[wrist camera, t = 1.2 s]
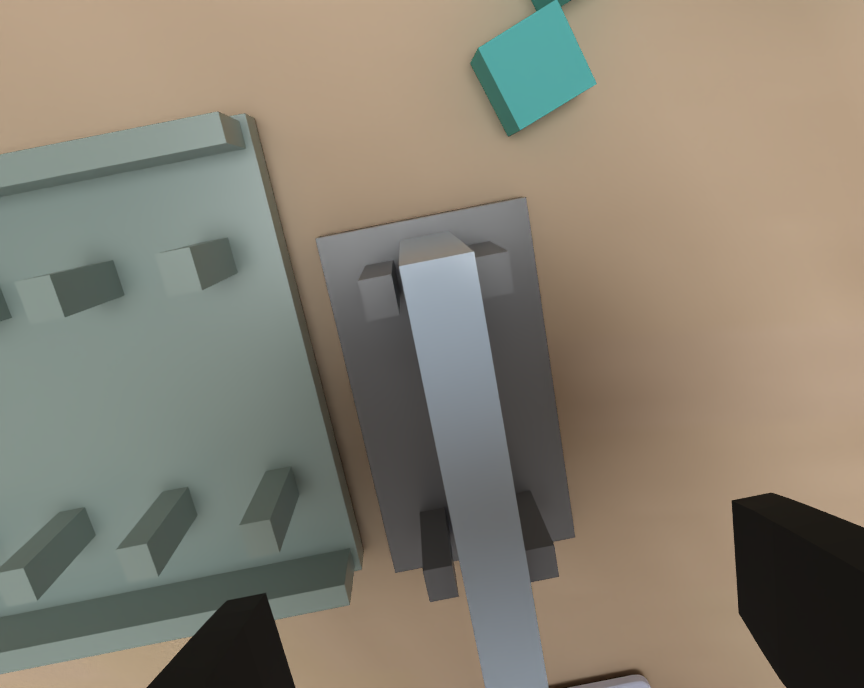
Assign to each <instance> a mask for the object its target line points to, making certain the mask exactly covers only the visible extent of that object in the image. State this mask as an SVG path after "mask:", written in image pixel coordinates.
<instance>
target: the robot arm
mask: <svg viewBox="0 0 864 688" xmlns="http://www.w3.org/2000/svg"><path fill="white" fill-rule="evenodd" d="M732 513H733V529H734V545H735V561H736V577H737V593H738V608H739V614H740V616H741V618H742V619H743V621H744V623H745V624H746V626H747V627H748V629H749V631H750V632H751V634H752V636H753V637H754V639H755V641H756V642H757V644H758V646H759V647H760V649H761V651H762V652H763V654H764V655H765V657H766V658H767V660H768V661H769V663H770V665H771V666H772V668H773V669H774V671H775V672H776V674H777V676H778V677H779V679H780V680H781V681H782V683H783V684H784V685H785V686H786V688H864V528H863V527H861V526H858V525H856V524H853V523H851V522H848V521H846V520H843V519H841V518H838V517H836V516H833V515H831V514H828V513H826V512H823V511H821V510H818V509H816V508H813V507H811V506H808V505H805V504H803V503H800V502H797V501H795V500H792V499H789V498H786V497H783V496H780V495H777V494H774V493H767V494H762V495H757V496H752V497H747V498H742V499H737V500H732ZM147 688H295V685H294V682H293V679H292V675H291V672H290V669H289V666H288V662H287V659H286V656H285V653H284V650H283V646H282V643H281V640H280V637H279V633H278V630H277V627H276V624H275V621H274V617H273V614H272V611H271V608H270V604H269V601H268V598H267V595H266V593H262V594H257V595H252V596H247V597H242V598H236V599H231V600H227V601H226V602H225V603H224V604H223V605H222V606H221V607H220V608H219V609H218V610H217V611H216V612H215V613H214V614H213V615H212V616H211V617H210V618H209V619H208V620H207V621H206V622H205V623H204V625H203V626H202V627H201V628H200V629H199V630H198V631H197V632H196V633H195V634H194V636H193V637H192V638H191V639H190V640H189V641H188V642H187V643H186V645H185V646H184V647H183V648H182V649H181V650H180V651H179V652H178V653H177V655H176V656H175V657H174V658H173V659H172V660H171V661H170V662H169V664H168V665H167V666H166V667H165V668H164V669H163V670H162V671H161V672H160V673H159V675H158V676H157V677H156V678H155V679H154V680H153V681H152V682H151V683H150V684H149V686H148V687H147ZM569 688H651V687H650V685H649V683H648V681H647V679H646V678H645V677H644V676H641V675H629V676H624V677H619V678H614V679H609V680H604V681H599V682H594V683H589V684H584V685H579V686H574V687H569Z"/></svg>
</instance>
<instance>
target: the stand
mask: <svg viewBox="0 0 864 688" xmlns="http://www.w3.org/2000/svg"><path fill="white" fill-rule="evenodd" d="M446 231H449V232H450V233H452V234H453V235H454V236H455V237H457V238H458V239H459V240H460V241H462V242H463V243H464V244H465V245H467V246H468V247H469V248H470V249H472V250H473V251H474V254H475V260H476V266H477V271H478V277H479V283H480V289H481V295H482V301H483V307H484V312H485V318H486V324H487V330H488V336H489V342H490V348H491V353H492V359H493V365H494V371H495V377H496V383H497V389H498V394H499V400H500V406H501V412H502V418H503V424H504V430H505V435H506V441H507V447H508V453H509V459H510V465H511V471H512V476H513V482H514V488H515V494H516V500H517V506H518V512H519V517H520V523H521V529H522V535H523V541H524V547H525V553H526V558H527V564H528V570H529V576H530V582H534V581H539V580H545V579H550V578H555V577H559V573H558V567H557V560H556V554H555V547H554V544H553V542H554V541H559V540H564V539H569V538H574V537H575V533H574V526H573V519H572V512H571V505H570V498H569V491H568V484H567V477H566V470H565V464H564V457H563V450H562V443H561V436H560V429H559V422H558V415H557V408H556V401H555V394H554V387H553V380H552V374H551V367H550V360H549V353H548V346H547V339H546V332H545V325H544V318H543V311H542V304H541V297H540V290H539V284H538V277H537V270H536V263H535V256H534V249H533V242H532V235H531V228H530V221H529V214H528V207H527V200H526V197H518V198H513V199H508V200H503V201H498V202H493V203H488V204H483V205H477V206H472V207H467V208H462V209H457V210H452V211H447V212H442V213H437V214H432V215H427V216H422V217H417V218H412V219H407V220H401V221H396V222H391V223H386V224H381V225H376V226H371V227H366V228H361V229H356V230H351V231H346V232H341V233H336V234H331V235H325V236H320V237H318V238H316V243H317V247H318V251H319V255H320V260H321V264H322V268H323V272H324V276H325V280H326V285H327V289H328V293H329V297H330V301H331V306H332V310H333V314H334V318H335V322H336V326H337V331H338V335H339V339H340V343H341V347H342V352H343V356H344V360H345V364H346V368H347V372H348V377H349V381H350V385H351V389H352V393H353V398H354V402H355V406H356V410H357V414H358V418H359V423H360V427H361V431H362V435H363V439H364V444H365V448H366V452H367V456H368V460H369V464H370V469H371V473H372V477H373V481H374V485H375V490H376V494H377V498H378V502H379V506H380V510H381V515H382V519H383V523H384V527H385V531H386V536H387V540H388V544H389V548H390V552H391V556H392V561H393V565H394V569H395V573H397V572H402V571H407V570H413V569H418V568H423V574H424V578H425V582H426V587H427V591H428V596H429V600H430V602H433V601H438V600H444V599H449V598H454V597H459V596H458V589H457V581H456V574H455V567H454V561H458V560H459V557H458V552H457V547H456V542H455V537H454V533H453V528H452V523H451V518H450V513H449V508H448V503H447V499H446V494H445V489H444V484H443V479H442V474H441V469H440V464H439V460H438V455H437V450H436V445H435V440H434V435H433V430H432V425H431V421H430V416H429V411H428V406H427V401H426V396H425V391H424V386H423V382H422V377H421V372H420V367H419V362H418V357H417V352H416V347H415V343H414V338H413V333H412V328H411V323H410V318H409V313H408V308H407V304H406V299H405V294H404V289H403V284H402V279H401V274H400V269H399V250H400V240H405V239H410V238H416V237H421V236H426V235H431V234H436V233H441V232H446Z"/></svg>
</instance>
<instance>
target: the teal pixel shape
mask: <svg viewBox="0 0 864 688" xmlns="http://www.w3.org/2000/svg"><path fill="white" fill-rule="evenodd" d="M531 1H532V3H533V5H534V7H535V9H536V11H537V12H535V13H534V14H532V15H530V16H529V17H527V18H526V19H524V20H522V21H521V22H519V23H518V24H516V25H514V26H513V27H511V28H510V29H508V30H506V31H505V32H503V33H502V34H500V35H498V36H497V37H495V38H494V39H492V40H490V41H489V42H487V43H486V44H484V45H482V46H481V47H479V48H478V49H477V51H476V53H475V55H474V57H473V59H472V61H471V63H470V64H471V66H472V68H473V70H474V72H475V74H476V76H477V78H478V79H479V81H480V83H481V85H482V87H483V89H484V91H485V93H486V95H487V97H488V99H489V101H490V103H491V105H492V106H493V108H494V110H495V112H496V114H497V116H498V118H499V120H500V122H501V124H502V126H503V128H504V130H505V132H506V133H507V135H508V136H510V135H512V134H514V133H516V132H518V131H520V130H521V129H523V128H525V127H526V126H528V125H530V124H531V123H533V122H535V121H536V120H538V119H540V118H541V117H543V116H544V115H546V114H548V113H549V112H551V111H553V110H554V109H556V108H558V107H559V106H561V105H563V104H564V103H566V102H568V101H569V100H571V99H572V98H574V97H576V96H577V95H579V94H581V93H582V92H584V91H586V90H587V89H589V88H591V87H592V86H594V85H595V84H597V83H596V81H595V79H594V77H593V75H592V73H591V71H590V68H589V66H588V64H587V62H586V60H585V58H584V56H583V53H582V51H581V49H580V47H579V45H578V43H577V41H576V38H575V36H574V34H573V32H572V30H571V28H570V26H569V23H568V21H567V19H566V17H565V15H564V13H563V11H562V8H561V6H563V5H564V4H566V3H568V2H569V1H571V0H531Z"/></svg>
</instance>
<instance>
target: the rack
mask: <svg viewBox="0 0 864 688" xmlns="http://www.w3.org/2000/svg"><path fill="white" fill-rule="evenodd" d="M363 553H364V551H363V547H362V543H361V539H360V535H359V531H358V527H357V523H356V519H355V515H354V511H353V507H352V503H351V499H350V495H349V491H348V487H347V483H346V479H345V475H344V471H343V467H342V463H341V459H340V456H339V452H338V448H337V444H336V440H335V436H334V432H333V428H332V424H331V420H330V416H329V412H328V408H327V404H326V400H325V396H324V392H323V388H322V384H321V380H320V376H319V372H318V368H317V364H316V360H315V357H314V353H313V349H312V345H311V341H310V337H309V333H308V329H307V325H306V321H305V317H304V313H303V309H302V305H301V301H300V297H299V293H298V289H297V285H296V281H295V277H294V273H293V269H292V265H291V262H290V258H289V254H288V250H287V246H286V242H285V238H284V234H283V230H282V226H281V222H280V218H279V214H278V210H277V206H276V202H275V198H274V194H273V190H272V186H271V182H270V178H269V174H268V170H267V167H266V163H265V159H264V155H263V151H262V147H261V143H260V139H259V135H258V131H257V127H256V123H255V119H254V118H253V117H251V116H249V115H247V114H245V113H244V114H239V115H234V116H227V115H225V114H222V113H220V112H214V113H209V114H203V115H198V116H193V117H188V118H183V119H178V120H173V121H168V122H163V123H158V124H153V125H148V126H143V127H137V128H132V129H127V130H122V131H117V132H112V133H107V134H102V135H97V136H92V137H87V138H82V139H77V140H72V141H66V142H61V143H56V144H51V145H46V146H41V147H36V148H31V149H26V150H21V151H16V152H11V153H6V154H0V674H4V673H9V672H14V671H19V670H24V669H29V668H34V667H39V666H44V665H49V664H54V663H59V662H65V661H70V660H75V659H80V658H85V657H90V656H95V655H100V654H105V653H110V652H115V651H120V650H125V649H130V648H135V647H140V646H145V645H150V644H155V643H161V642H166V641H171V640H176V639H181V638H186V637H191V636H194V634H195V633H196V632H197V631H198V630H199V629H200V628H201V627H202V626H203V625H204V623H205V622H206V621H207V620H208V619H209V618H210V617H211V616H212V615H213V614H214V613H215V612H216V611H217V610H218V609H219V608H220V607H221V606H222V605H223V604H224V603H225V602H226V601H227V600H231V599H236V598H242V597H247V596H252V595H257V594H262V593H266V595H267V598H268V601H269V604H270V608H271V611H272V614H273V617H274V620H277V619H282V618H287V617H292V616H297V615H302V614H307V613H312V612H317V611H322V610H327V609H332V608H337V607H342V606H347V605H350V600H351V592H352V584H353V576H354V571H357V570H362V562H363Z"/></svg>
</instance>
